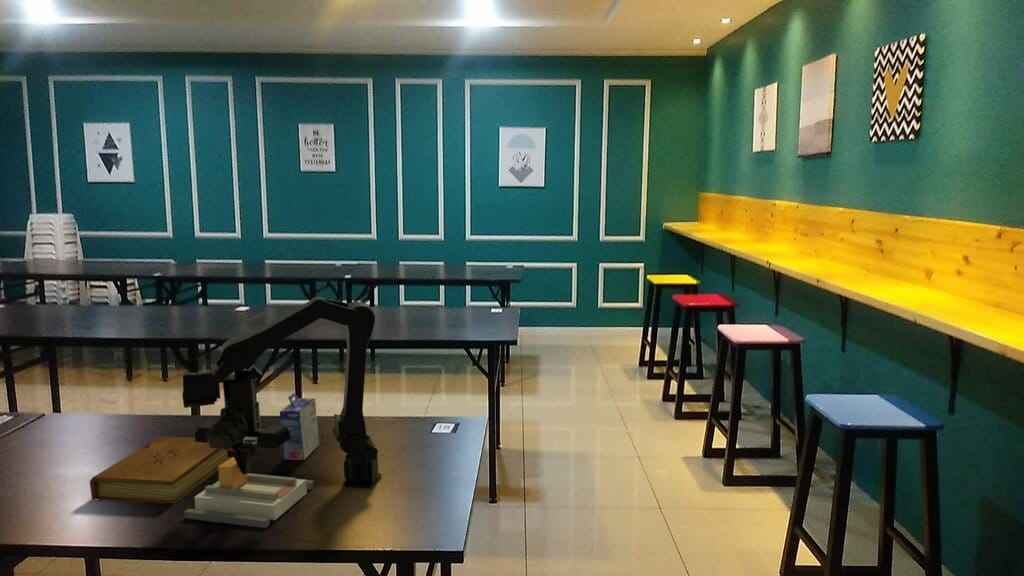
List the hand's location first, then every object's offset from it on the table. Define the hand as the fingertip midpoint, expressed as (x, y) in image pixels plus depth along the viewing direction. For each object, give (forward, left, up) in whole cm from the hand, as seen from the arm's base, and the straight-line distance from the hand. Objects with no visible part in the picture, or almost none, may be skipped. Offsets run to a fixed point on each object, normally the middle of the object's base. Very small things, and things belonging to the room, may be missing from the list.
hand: (245, 473), depth 145 cm
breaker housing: (-1, 0, -6) cm, 6 cm away
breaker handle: (+3, 0, -3) cm, 4 cm away
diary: (+25, -6, -7) cm, 26 cm away
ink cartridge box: (+3, -26, -6) cm, 27 cm away
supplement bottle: (+22, -32, -6) cm, 39 cm away
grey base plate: (-1, 0, -6) cm, 6 cm away
